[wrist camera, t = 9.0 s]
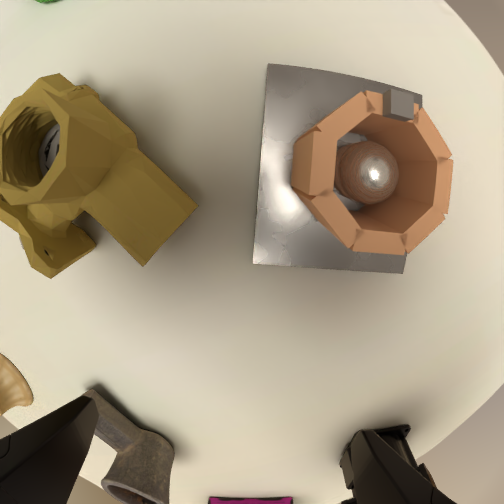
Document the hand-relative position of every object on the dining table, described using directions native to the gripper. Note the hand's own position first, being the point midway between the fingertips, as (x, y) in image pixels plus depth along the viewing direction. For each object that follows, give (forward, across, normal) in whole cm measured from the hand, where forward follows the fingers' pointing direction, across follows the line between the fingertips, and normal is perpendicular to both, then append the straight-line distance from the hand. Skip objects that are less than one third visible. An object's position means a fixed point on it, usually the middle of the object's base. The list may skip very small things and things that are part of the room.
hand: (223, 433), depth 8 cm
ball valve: (+12, +10, -6) cm, 17 cm away
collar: (+11, -5, -8) cm, 15 cm away
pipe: (+12, +9, +17) cm, 23 cm away
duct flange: (+12, -5, -8) cm, 15 cm away
